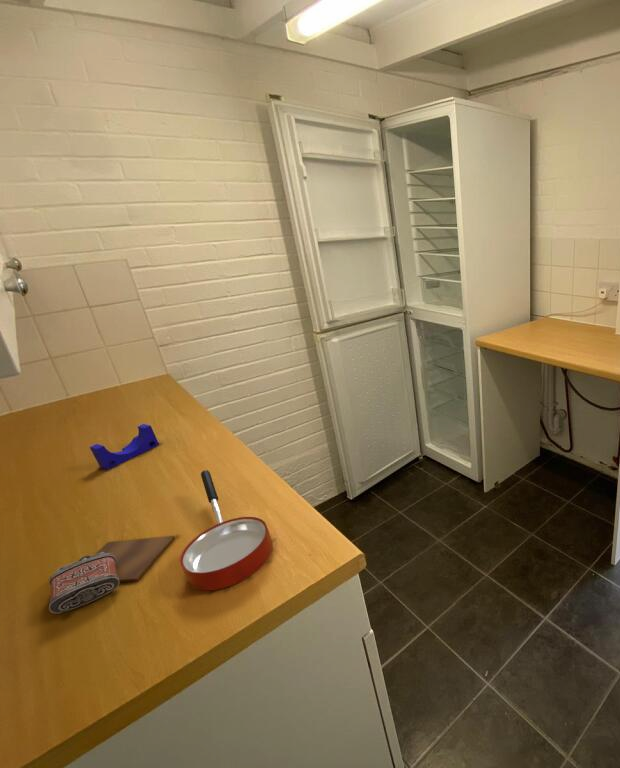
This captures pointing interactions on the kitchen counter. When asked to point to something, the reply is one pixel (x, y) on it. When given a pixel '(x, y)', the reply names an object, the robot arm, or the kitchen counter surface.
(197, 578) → the frying pan
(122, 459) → the blue notched block
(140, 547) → the plate
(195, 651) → the kitchen counter surface
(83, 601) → the lighter
